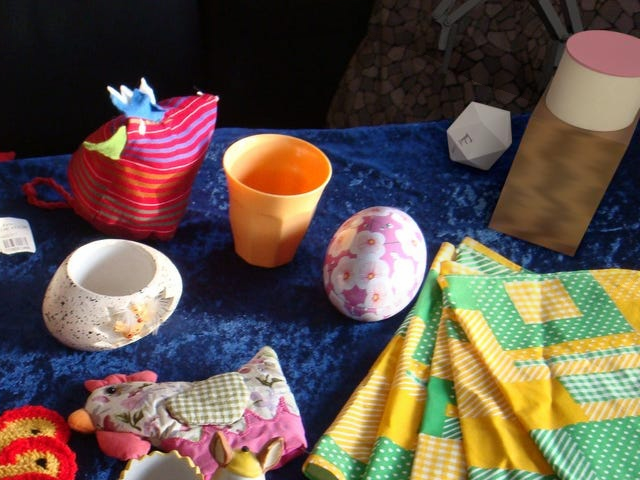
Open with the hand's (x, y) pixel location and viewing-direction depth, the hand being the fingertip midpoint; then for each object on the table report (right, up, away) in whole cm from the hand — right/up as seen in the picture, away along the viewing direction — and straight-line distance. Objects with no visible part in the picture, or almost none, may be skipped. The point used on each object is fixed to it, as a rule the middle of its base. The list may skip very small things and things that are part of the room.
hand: (491, 84), depth 117 cm
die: (-1, -10, +4) cm, 11 cm away
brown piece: (+4, -20, -5) cm, 21 cm away
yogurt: (+5, -9, -18) cm, 20 cm away
